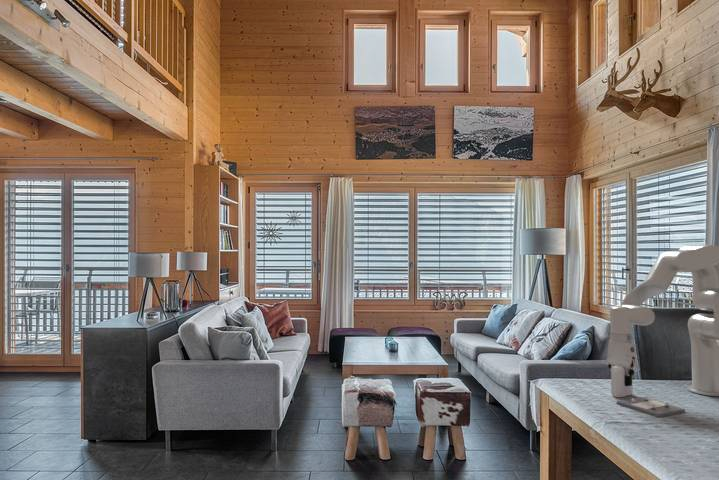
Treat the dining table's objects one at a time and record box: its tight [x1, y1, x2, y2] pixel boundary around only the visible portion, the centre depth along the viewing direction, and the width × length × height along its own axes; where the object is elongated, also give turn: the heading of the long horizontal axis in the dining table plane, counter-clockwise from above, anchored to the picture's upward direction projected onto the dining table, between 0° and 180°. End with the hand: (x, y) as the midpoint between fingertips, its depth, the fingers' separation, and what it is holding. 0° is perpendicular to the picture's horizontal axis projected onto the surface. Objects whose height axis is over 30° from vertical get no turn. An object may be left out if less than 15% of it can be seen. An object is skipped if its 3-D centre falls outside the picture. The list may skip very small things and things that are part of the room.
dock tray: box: [616, 396, 686, 418], centre depth 171 cm, size 14×16×2 cm
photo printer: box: [610, 365, 634, 398], centre depth 187 cm, size 10×4×12 cm, turn 123°
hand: (621, 383), depth 187 cm, fingers closed on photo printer, 4 cm apart
